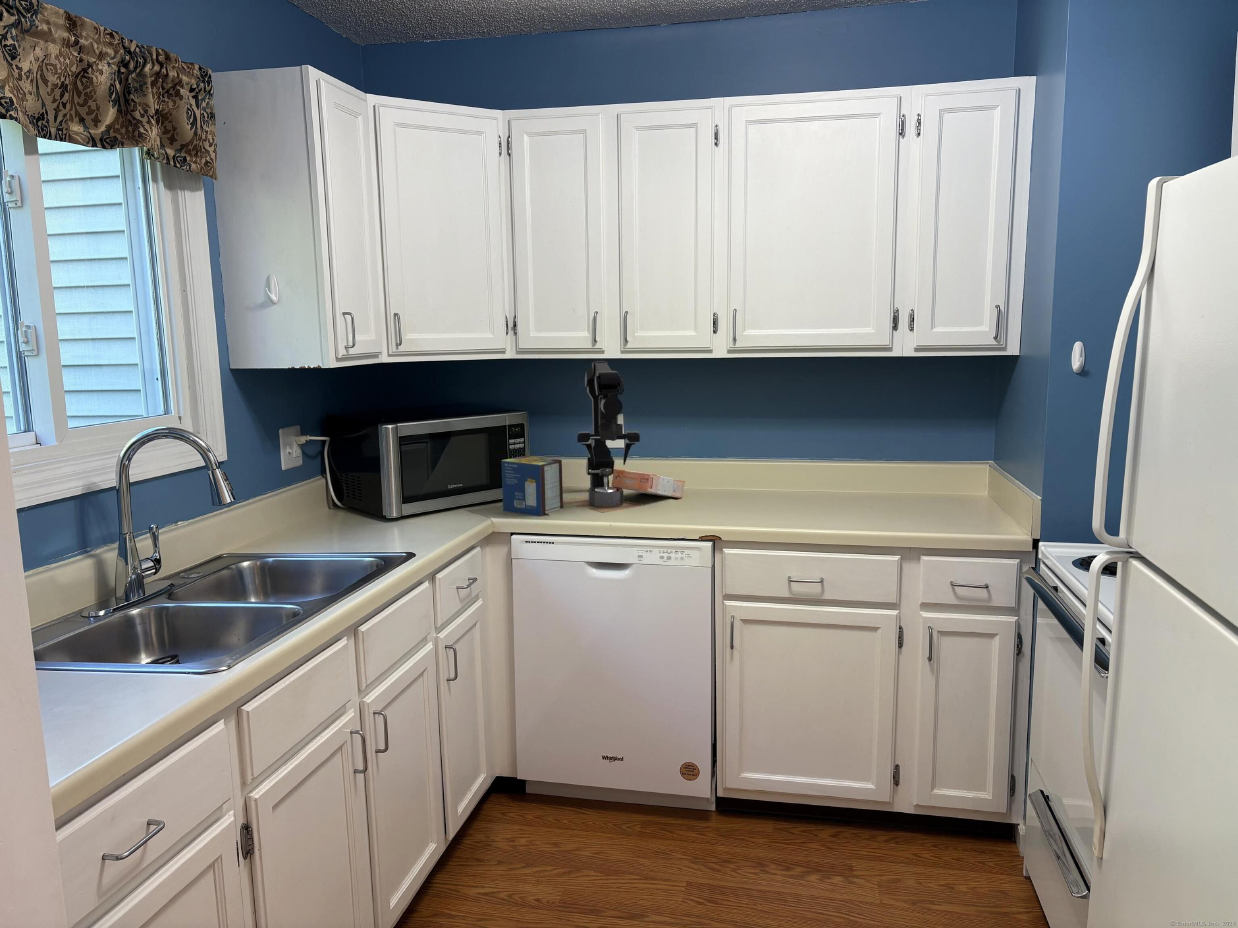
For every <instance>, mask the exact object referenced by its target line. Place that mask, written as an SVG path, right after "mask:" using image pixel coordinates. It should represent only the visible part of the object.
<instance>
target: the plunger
mask: <svg viewBox="0 0 1238 928" xmlns="http://www.w3.org/2000/svg"><path fill="white" fill-rule="evenodd" d="M600 476H604V487H603V488H596V489H595V492H616V491H617V489H616V488H610V487H611V486H609V487H607V476H609V477H610V476H613V475H612V469H610V468H602V469H600Z"/></svg>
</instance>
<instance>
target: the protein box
mask: <svg viewBox="0 0 1238 928" xmlns="http://www.w3.org/2000/svg"><path fill="white" fill-rule="evenodd" d="M500 462H501V480H502V481H501V483H502V485H501V486H502V488H501V489H502V511H504V512H510V513H516V514H523V515H529V516H530V515H531V516H536V517H544V516H547V515H549V513H550V512H553V511H557V510H561V509H563V508H564V502H563V501H564V495H563V493H564V491H563V488H564V487H563V461H562V459H560V458H559V459H558V458H547V457H546V458H545V457H534V456H527V455H526V456H525V455H523V456H517V457H512V458H507V459H502V460H501V461H500Z"/></svg>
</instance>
